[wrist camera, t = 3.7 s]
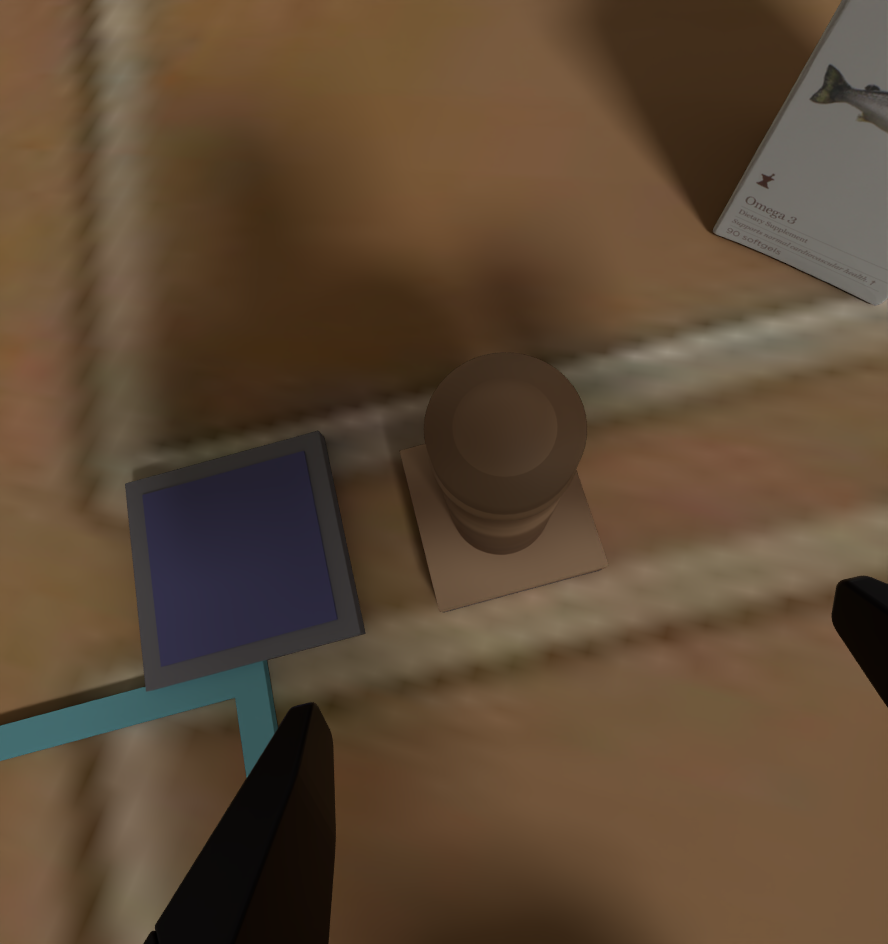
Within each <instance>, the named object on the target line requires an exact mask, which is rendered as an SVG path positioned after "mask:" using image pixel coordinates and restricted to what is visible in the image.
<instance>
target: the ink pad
mask: <svg viewBox="0 0 888 944" xmlns="http://www.w3.org/2000/svg"><path fill="white" fill-rule="evenodd" d="M125 488H126V498H127V508H128V518H129V528H130V537H131V547H132V557H133V567H134V577H135V587H136V597H137V607H138V617H139V627H140V637H141V647H142V657H143V667H144V677H145V687H146V692H147V691H152V690H156V689H160V688H164V687H167V686H171V685H175V684H178V683H182V682H186V681H190V680H193V679H197V678H201V677H204V676H208V675H212V674H215V673H219V672H223V671H227V670H230V669H234V668H238V667H241V666H245V665H249V664H252V663H256V662H260V661H264V660H269V659H273V658H277V657H280V656H284V655H288V654H292V653H295V652H299V651H303V650H306V649H310V648H314V647H317V646H321V645H325V644H329V643H332V642H336V641H340V640H343V639H347V638H351V637H355V636H358V635H362V634H365V629H364V625H363V620H362V615H361V610H360V606H359V601H358V596H357V591H356V586H355V582H354V577H353V572H352V567H351V563H350V558H349V553H348V548H347V544H346V539H345V534H344V529H343V525H342V520H341V515H340V510H339V505H338V501H337V496H336V491H335V486H334V482H333V477H332V472H331V467H330V463H329V458H328V453H327V448H326V444H325V439H324V436H323V435H322V434H321V433H320V432H319V431H315V432H312V433H308V434H304V435H301V436H297V437H293V438H290V439H286V440H283V441H279V442H275V443H272V444H268V445H264V446H261V447H257V448H253V449H250V450H246V451H242V452H239V453H235V454H232V455H228V456H224V457H221V458H217V459H213V460H210V461H206V462H202V463H199V464H195V465H191V466H188V467H184V468H180V469H177V470H173V471H170V472H166V473H162V474H159V475H155V476H151V477H148V478H144V479H140V480H137V481H133V482H129V483H126V484H125Z"/></svg>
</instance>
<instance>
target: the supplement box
mask: <svg viewBox="0 0 888 944" xmlns="http://www.w3.org/2000/svg"><path fill="white" fill-rule="evenodd" d="M713 233H715V234H716V235H719V236H722V237H724V238H727V239H730V240H732V241H735V242H738V243H740V244H742V245H745V246H747V247H750V248H752V249H754V250H757V251H759V252H762V253H764V254H766V255H768V256H771V257H773V258H775V259H778V260H780V261H782V262H784V263H786V264H788V265H791V266H793V267H795V268H797V269H799V270H801V271H803V272H806V273H808V274H810V275H813V276H814V277H816V278H818V279H821V280H823V281H825V282H828V283H830V284H832V285H834V286H836V287H838V288H840V289H842V290H844V291H846V292H848V293H850V294H852V295H854V296H856V297H858V298H860V299H862V300H864V301H866V302H868V303H871V304H873V305H875V306H876V305H879V304H881V303H882V302H884V301H885V300H886V299H887V298H888V0H842V1H841V3H840V5H839V6H838V8H837V10H836V12H835V13H834V15H833V17H832V19H831V20H830V22H829V24H828V26H827V28H826V29H825V31H824V33H823V35H822V36H821V38H820V40H819V42H818V43H817V45H816V47H815V49H814V51H813V52H812V54H811V56H810V58H809V59H808V61H807V63H806V65H805V67H804V68H803V70H802V72H801V74H800V75H799V77H798V79H797V81H796V82H795V84H794V86H793V88H792V90H791V91H790V93H789V95H788V97H787V98H786V100H785V102H784V104H783V106H782V107H781V109H780V111H779V112H778V114H777V116H776V118H775V119H774V121H773V123H772V125H771V126H770V128H769V130H768V132H767V133H766V135H765V137H764V139H763V140H762V142H761V144H760V146H759V147H758V149H757V151H756V153H755V154H754V156H753V158H752V160H751V162H750V163H749V165H748V167H747V169H746V171H745V172H744V174H743V176H742V178H741V180H740V181H739V183H738V185H737V187H736V189H735V190H734V192H733V194H732V196H731V198H730V199H729V201H728V203H727V205H726V207H725V208H724V210H723V212H722V214H721V216H720V217H719V219H718V221H717V223H716V225H715V226H714V228H713Z"/></svg>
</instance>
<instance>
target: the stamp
mask: <svg viewBox="0 0 888 944" xmlns="http://www.w3.org/2000/svg"><path fill="white" fill-rule="evenodd" d="M424 438H425V444H422V445H418V446H415V447H411V448H407V449H404V450H400V455H401V459H402V463H403V467H404V471H405V475H406V479H407V483H408V487H409V491H410V495H411V499H412V503H413V507H414V511H415V515H416V519H417V523H418V527H419V531H420V535H421V539H422V543H423V547H424V551H425V555H426V559H427V563H428V567H429V571H430V575H431V580H432V584H433V588H434V592H435V596H436V600H437V604H438V608H439V611H440V612H443V613H444V612H447V611H451V610H455V609H458V608H462V607H466V606H470V605H473V604H477V603H481V602H484V601H488V600H492V599H496V598H499V597H503V596H507V595H510V594H514V593H518V592H521V591H525V590H529V589H533V588H536V587H540V586H544V585H547V584H551V583H555V582H559V581H562V580H566V579H570V578H573V577H577V576H581V575H584V574H588V573H592V572H596V571H599V570H601V569H603V568H605V567H607V566H609V564H608V561H607V559H606V556H605V553H604V550H603V547H602V544H601V541H600V538H599V535H598V532H597V529H596V526H595V523H594V520H593V517H592V514H591V511H590V508H589V505H588V503H587V500H586V497H585V494H584V491H583V488H582V485H581V482H580V479H579V476H578V473H577V470H576V469H577V466H578V463H579V461H580V459H581V457H582V455H583V451H584V448H585V444H586V438H587V420H586V414H585V410H584V407H583V404H582V401H581V399H580V397H579V395H578V393H577V391H576V390H575V388H574V387H573V385H572V384H571V383H570V382H569V380H568V379H567V378H566V377H565V376H564V375H563V374H562V373H561V372H559V371H558V370H557V369H555V368H554V367H553V366H551V365H549V364H548V363H546V362H544V361H542V360H540V359H537V358H535V357H532V356H528V355H524V354H518V353H504V352H503V353H492V354H487V355H483V356H480V357H477V358H474V359H472V360H469V361H467V362H465V363H463V364H462V365H460V366H459V367H457V368H456V369H454V370H453V371H452V372H451V373H450V374H448V375H447V376H446V377H445V378H444V380H443V381H442V382H441V383H440V384H439V386H438V387H437V388H436V390H435V391H434V393H433V395H432V397H431V399H430V402H429V404H428V407H427V410H426V415H425V421H424Z"/></svg>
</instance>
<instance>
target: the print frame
mask: <svg viewBox="0 0 888 944" xmlns="http://www.w3.org/2000/svg"><path fill="white" fill-rule="evenodd" d="M232 698H235V700H236V707H237V714H238V721H239V728H240V735H241V742H242V749H243V756H244V763H245V770H246V777H248V775H249V774H250V772H251V770H252V769H253V767H254V766H255V764H256V762H257V761H258V759H259V758H260V756H261V754H262V753H263V751H264V749H265V748H266V746H267V745H268V743H269V741H270V740H271V738H272V737H273V735H274V733H275V732H276V730H277V729H278V726H277V720H276V714H275V707H274V701H273V695H272V689H271V682H270V676H269V670H268V664H267V660H264V661H260V662H256V663H252V664H249V665H245V666H241V667H238V668H234V669H230V670H227V671H223V672H219V673H215V674H212V675H208V676H204V677H201V678H197V679H193V680H190V681H186V682H182V683H178V684H175V685H171V686H167V687H164V688H160V689H156V690H152V691H147V692H146V687H142V688H138V689H135V690H131V691H127V692H124V693H120V694H116V695H112V696H109V697H105V698H101V699H98V700H94V701H90V702H87V703H83V704H79V705H75V706H72V707H68V708H64V709H61V710H57V711H53V712H50V713H46V714H42V715H38V716H35V717H31V718H27V719H24V720H20V721H16V722H12V723H9V724H5V725H1V726H0V761H2V760H6V759H9V758H13V757H17V756H20V755H24V754H28V753H32V752H35V751H39V750H43V749H46V748H50V747H54V746H58V745H61V744H65V743H69V742H72V741H76V740H80V739H84V738H87V737H91V736H95V735H98V734H102V733H106V732H110V731H113V730H117V729H121V728H124V727H128V726H132V725H136V724H139V723H143V722H147V721H150V720H154V719H158V718H162V717H165V716H169V715H173V714H176V713H180V712H184V711H188V710H191V709H195V708H199V707H202V706H206V705H210V704H214V703H217V702H221V701H225V700H228V699H232Z"/></svg>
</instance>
